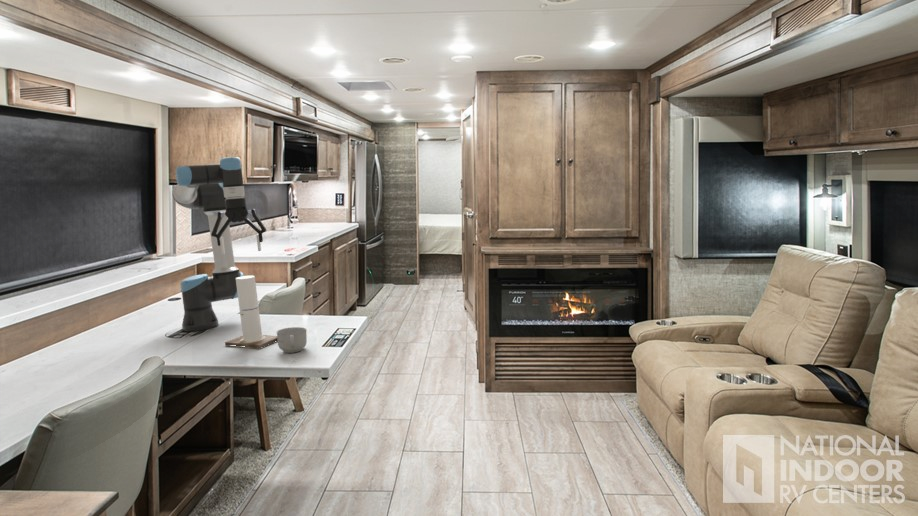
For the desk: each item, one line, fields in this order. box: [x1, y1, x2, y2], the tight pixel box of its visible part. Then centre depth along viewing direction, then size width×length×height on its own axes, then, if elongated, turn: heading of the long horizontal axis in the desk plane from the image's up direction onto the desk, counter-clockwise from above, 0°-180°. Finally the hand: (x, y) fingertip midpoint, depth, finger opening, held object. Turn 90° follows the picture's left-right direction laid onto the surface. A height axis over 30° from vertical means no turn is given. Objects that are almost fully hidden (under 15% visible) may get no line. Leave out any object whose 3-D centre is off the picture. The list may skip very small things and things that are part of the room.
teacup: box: [276, 326, 308, 353], centre depth 226 cm, size 14×11×8 cm
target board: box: [224, 334, 278, 349], centre depth 242 cm, size 18×12×2 cm, turn 65°
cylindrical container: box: [236, 275, 263, 341], centre depth 240 cm, size 7×7×25 cm
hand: (241, 252), depth 237 cm, fingers open, 13 cm apart
